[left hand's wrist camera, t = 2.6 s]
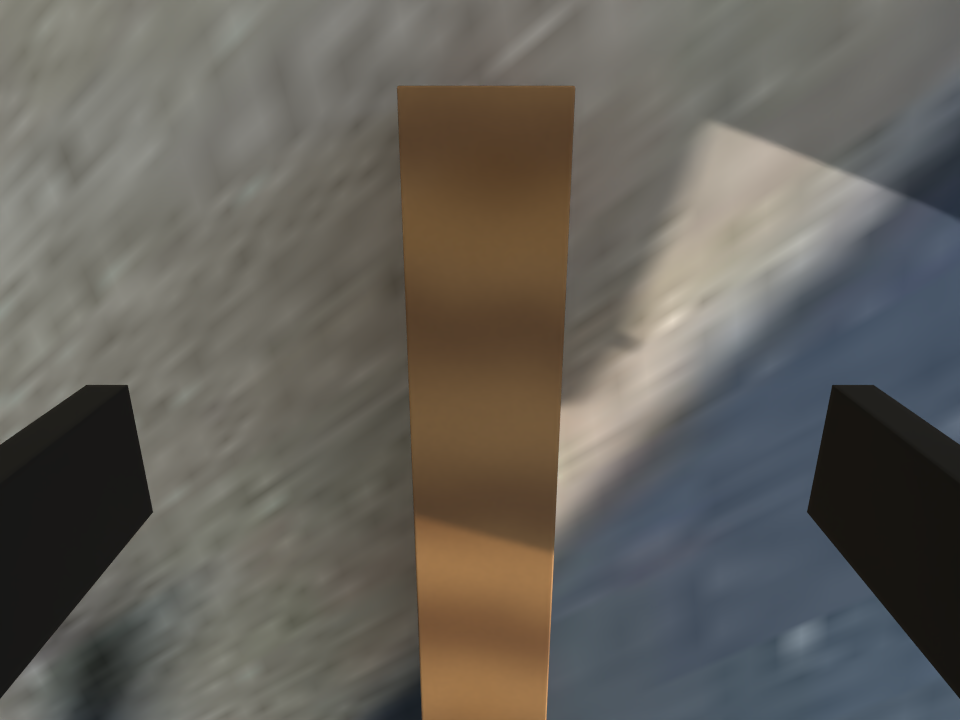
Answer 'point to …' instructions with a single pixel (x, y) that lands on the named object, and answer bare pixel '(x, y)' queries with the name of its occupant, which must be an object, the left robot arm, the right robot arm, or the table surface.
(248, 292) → the table surface
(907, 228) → the table surface
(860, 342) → the table surface
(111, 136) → the table surface
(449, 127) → the beam
